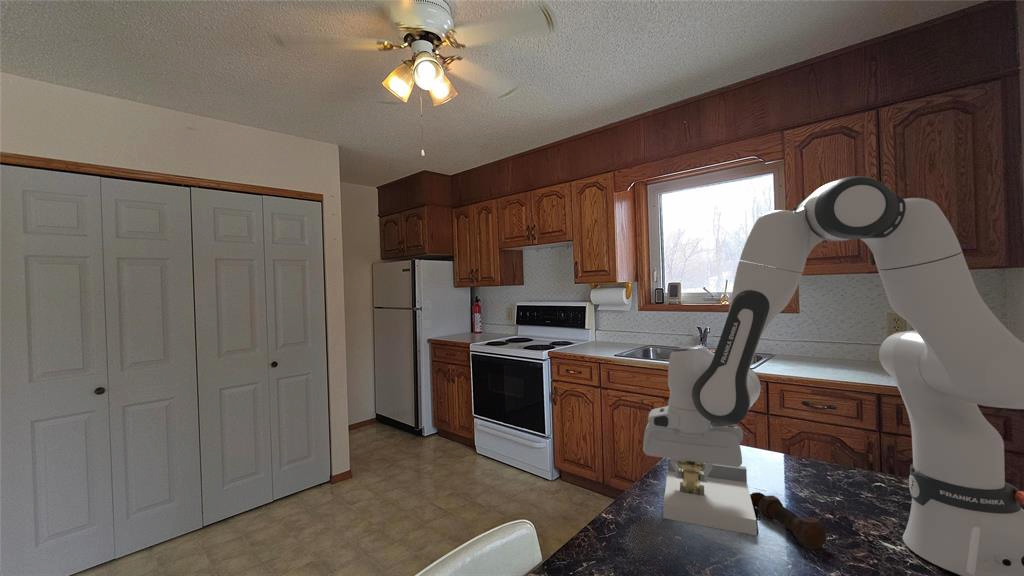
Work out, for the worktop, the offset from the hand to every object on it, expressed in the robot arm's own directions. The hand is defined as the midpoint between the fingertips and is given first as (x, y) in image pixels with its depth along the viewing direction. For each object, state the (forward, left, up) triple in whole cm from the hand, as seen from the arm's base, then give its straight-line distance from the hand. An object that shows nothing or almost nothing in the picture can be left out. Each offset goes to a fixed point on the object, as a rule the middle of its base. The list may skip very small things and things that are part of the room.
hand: (691, 479), depth 93 cm
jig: (-3, 0, -5) cm, 6 cm away
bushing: (0, 0, -3) cm, 3 cm away
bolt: (-17, +3, -6) cm, 18 cm away
